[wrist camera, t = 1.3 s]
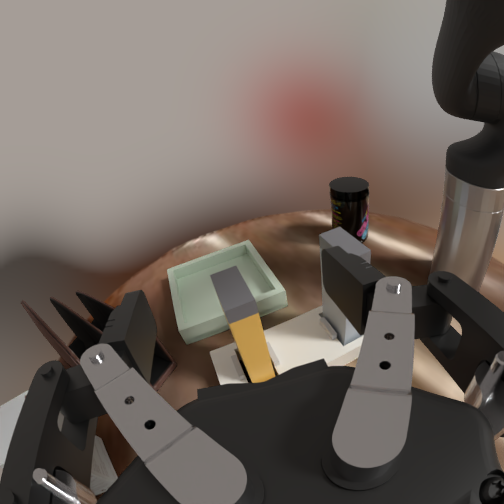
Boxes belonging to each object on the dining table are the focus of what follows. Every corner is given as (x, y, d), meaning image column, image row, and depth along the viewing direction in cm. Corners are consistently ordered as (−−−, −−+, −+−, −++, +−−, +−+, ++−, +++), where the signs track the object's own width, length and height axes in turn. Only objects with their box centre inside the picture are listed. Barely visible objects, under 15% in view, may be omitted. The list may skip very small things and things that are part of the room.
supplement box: (63, 456, 22) (-8, 407, 15) (103, 437, 25) (33, 384, 18) (78, 503, 17) (-5, 466, 10) (123, 486, 20) (41, 447, 13)
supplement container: (354, 252, 46) (354, 195, 40) (324, 239, 51) (320, 186, 45) (374, 234, 49) (376, 182, 43) (346, 224, 54) (344, 174, 48)
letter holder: (135, 422, 27) (62, 354, 20) (63, 359, 37) (13, 297, 29) (179, 365, 34) (129, 285, 26) (99, 321, 44) (58, 257, 36)
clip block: (353, 303, 37) (354, 285, 35) (387, 340, 31) (391, 323, 29) (215, 362, 34) (207, 347, 32) (233, 414, 27) (225, 402, 25)
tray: (173, 282, 49) (167, 269, 47) (252, 253, 52) (248, 239, 50) (186, 344, 37) (178, 331, 35) (287, 305, 39) (285, 290, 38)
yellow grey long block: (261, 354, 33) (235, 265, 26) (277, 385, 29) (255, 299, 22) (243, 362, 33) (209, 275, 25) (257, 394, 29) (224, 311, 21)
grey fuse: (339, 319, 35) (339, 226, 28) (360, 345, 31) (371, 250, 24) (322, 327, 35) (318, 234, 27) (343, 354, 31) (348, 260, 23)
